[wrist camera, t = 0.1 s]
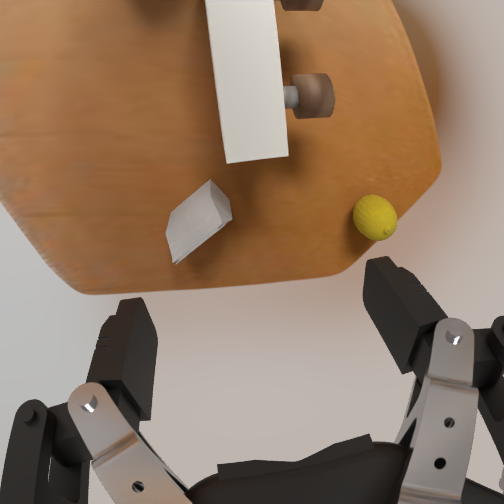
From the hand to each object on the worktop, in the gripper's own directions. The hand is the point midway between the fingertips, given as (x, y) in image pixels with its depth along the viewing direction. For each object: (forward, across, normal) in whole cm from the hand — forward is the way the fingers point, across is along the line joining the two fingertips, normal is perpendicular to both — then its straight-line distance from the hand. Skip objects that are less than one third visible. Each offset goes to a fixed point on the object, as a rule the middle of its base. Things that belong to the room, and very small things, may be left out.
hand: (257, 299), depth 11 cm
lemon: (+29, -18, +12) cm, 36 cm away
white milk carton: (+30, +4, +8) cm, 31 cm away
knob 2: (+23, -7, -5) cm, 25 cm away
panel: (+29, -2, -10) cm, 31 cm away
